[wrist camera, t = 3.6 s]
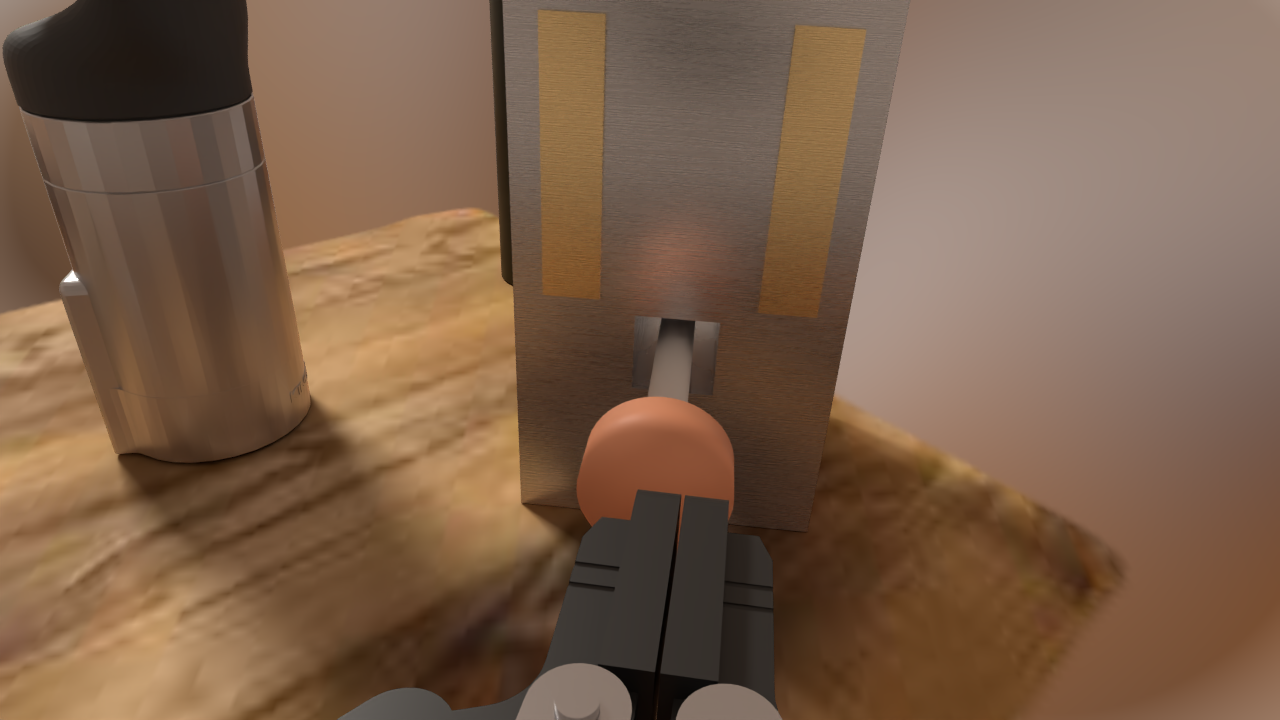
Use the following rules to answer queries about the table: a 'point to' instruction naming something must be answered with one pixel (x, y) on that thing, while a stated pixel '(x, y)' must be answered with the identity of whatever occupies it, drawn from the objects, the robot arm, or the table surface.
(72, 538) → the table surface
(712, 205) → the dispenser
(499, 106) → the wine bottle
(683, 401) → the plunger
